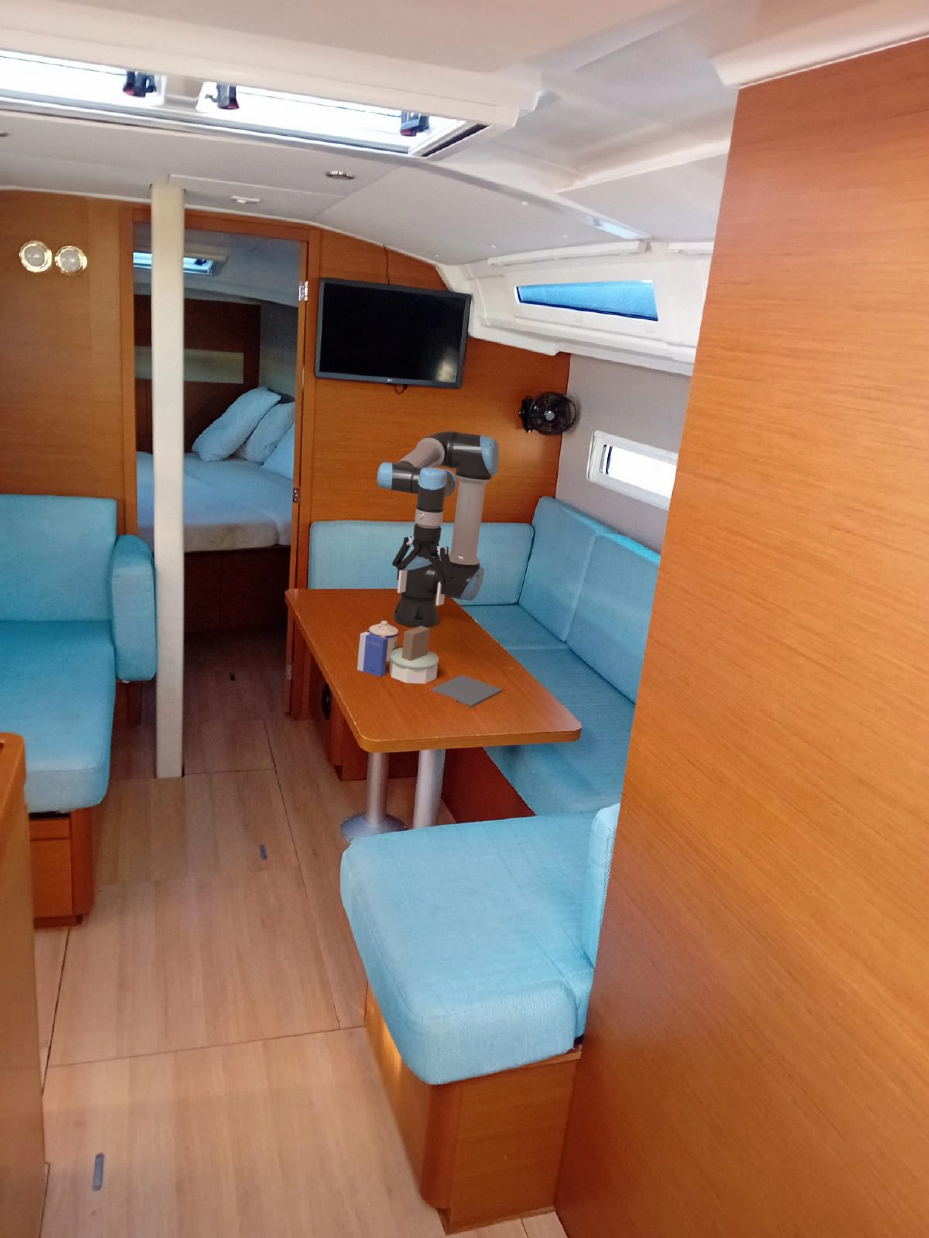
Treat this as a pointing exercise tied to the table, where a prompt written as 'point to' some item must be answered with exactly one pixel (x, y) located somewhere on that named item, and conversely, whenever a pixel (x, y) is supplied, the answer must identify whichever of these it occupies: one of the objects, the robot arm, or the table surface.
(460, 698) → the mat
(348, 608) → the table surface
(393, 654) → the lid
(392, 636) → the teacup with lid
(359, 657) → the walkman
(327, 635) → the table surface
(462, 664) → the table surface
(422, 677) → the bowl
